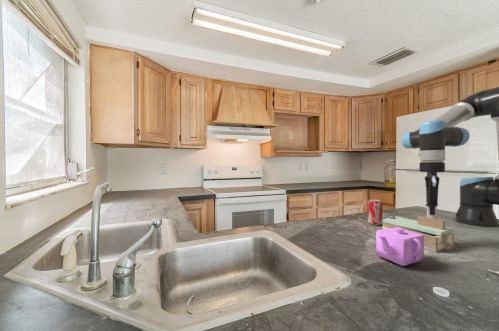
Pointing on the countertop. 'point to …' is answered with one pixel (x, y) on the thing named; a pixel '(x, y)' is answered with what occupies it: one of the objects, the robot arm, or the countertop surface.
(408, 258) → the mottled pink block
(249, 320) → the countertop surface
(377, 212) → the beverage can
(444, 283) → the countertop surface
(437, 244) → the trough
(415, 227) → the cover
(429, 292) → the countertop surface
